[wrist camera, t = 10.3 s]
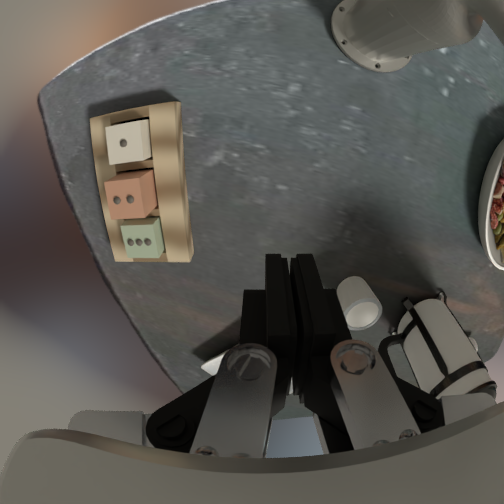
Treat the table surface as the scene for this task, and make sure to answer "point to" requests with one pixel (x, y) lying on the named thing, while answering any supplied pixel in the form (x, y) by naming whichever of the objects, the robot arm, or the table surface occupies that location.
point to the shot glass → (358, 303)
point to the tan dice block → (131, 194)
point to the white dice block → (129, 142)
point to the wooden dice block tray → (166, 177)
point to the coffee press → (438, 351)
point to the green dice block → (143, 237)
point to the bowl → (493, 208)
